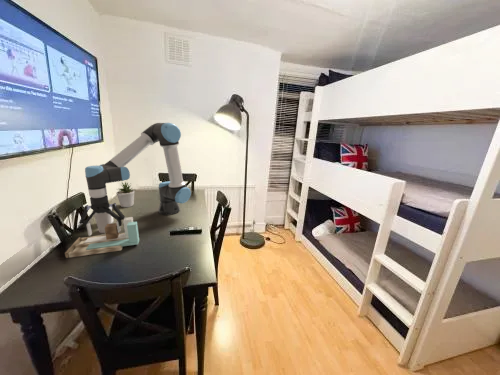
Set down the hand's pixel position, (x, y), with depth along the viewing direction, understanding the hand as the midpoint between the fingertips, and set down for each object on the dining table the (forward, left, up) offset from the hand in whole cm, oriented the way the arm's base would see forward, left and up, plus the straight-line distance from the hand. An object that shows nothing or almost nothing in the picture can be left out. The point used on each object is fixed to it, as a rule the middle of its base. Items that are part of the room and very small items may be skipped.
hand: (105, 233), depth 115 cm
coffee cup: (+4, -15, -5) cm, 17 cm away
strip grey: (-2, 0, -4) cm, 5 cm away
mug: (+7, -25, -6) cm, 27 cm away
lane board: (+1, +4, -5) cm, 7 cm away
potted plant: (0, -60, -5) cm, 61 cm away
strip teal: (-6, +7, -4) cm, 10 cm away
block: (-3, 0, -3) cm, 4 cm away
